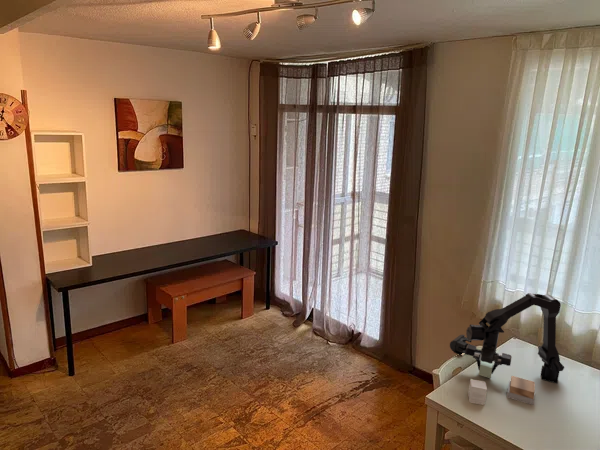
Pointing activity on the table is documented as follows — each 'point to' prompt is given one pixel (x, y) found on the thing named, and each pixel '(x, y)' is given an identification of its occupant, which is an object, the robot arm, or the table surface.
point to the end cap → (459, 344)
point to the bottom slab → (519, 397)
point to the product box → (477, 392)
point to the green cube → (485, 369)
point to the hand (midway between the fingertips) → (485, 371)
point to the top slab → (522, 387)
